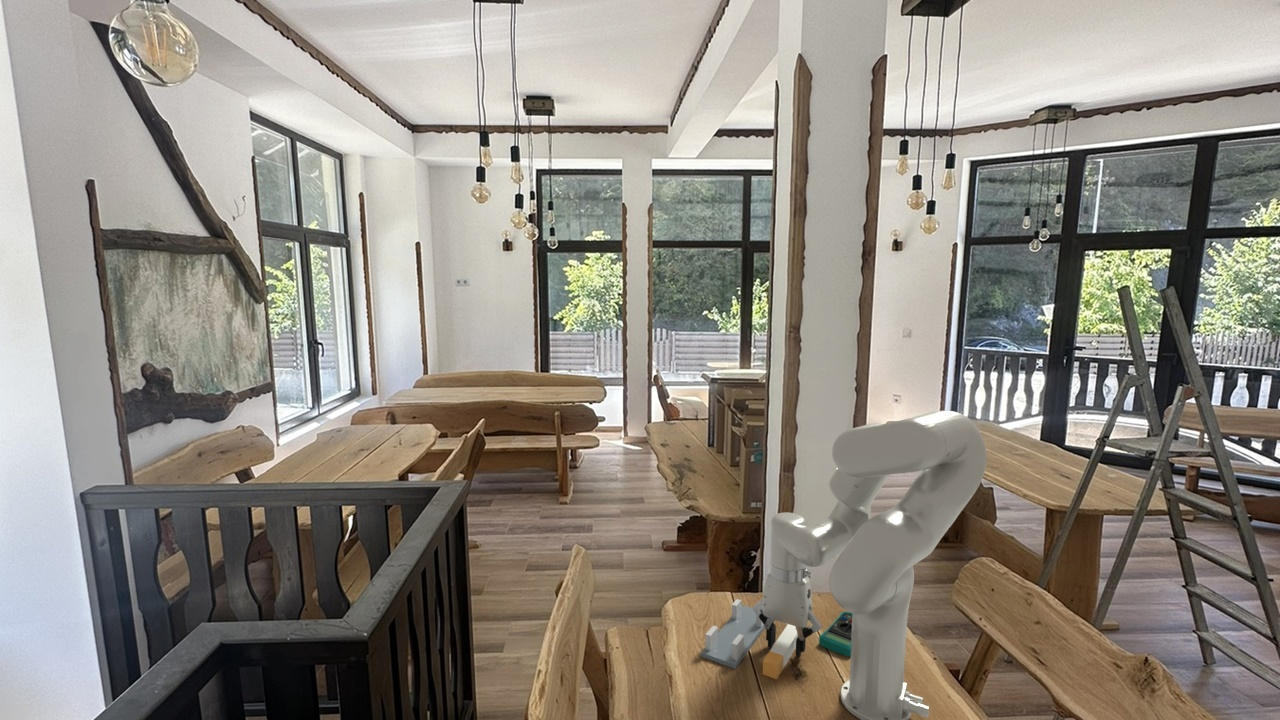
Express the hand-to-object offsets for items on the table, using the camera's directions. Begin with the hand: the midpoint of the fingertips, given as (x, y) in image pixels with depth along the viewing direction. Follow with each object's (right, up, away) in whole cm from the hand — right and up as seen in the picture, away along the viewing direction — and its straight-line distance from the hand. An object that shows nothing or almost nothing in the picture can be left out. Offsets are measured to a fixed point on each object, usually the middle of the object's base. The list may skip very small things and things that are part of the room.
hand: (785, 648), depth 129 cm
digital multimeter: (+15, -1, +6) cm, 16 cm away
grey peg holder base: (-9, 0, +6) cm, 11 cm away
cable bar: (0, -1, 0) cm, 1 cm away
